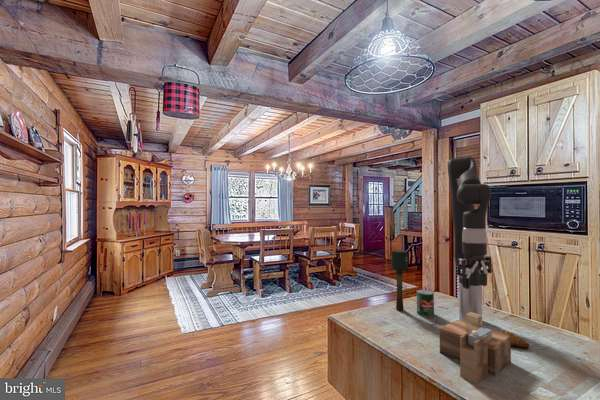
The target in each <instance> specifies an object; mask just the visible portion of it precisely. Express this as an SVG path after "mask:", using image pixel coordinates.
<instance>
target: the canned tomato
mask: <svg viewBox="0 0 600 400" xmlns="http://www.w3.org/2000/svg"><path fill="white" fill-rule="evenodd" d="M434 295H435V293H434V291H433V290H429V289H424V288H423V289H417V290H416V314H417V315H418V316H420V317H423V318H433V317H434V316H435V296H434Z"/></svg>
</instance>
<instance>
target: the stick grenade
mask: <svg viewBox="0 0 600 400" xmlns="http://www.w3.org/2000/svg"><path fill="white" fill-rule="evenodd" d="M390 257H391V260H390V262H391V263H390V264H391V265H390V269H391V270H394V271H395V275H396V276H395V279H396V301H395V310H396V311H399V312H402V311H403V310H405V309H404V300H403V282H404V271H408V270H409V266H408V251H407V250H405V249H393V250H391V251H390Z"/></svg>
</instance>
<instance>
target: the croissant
mask: <svg viewBox="0 0 600 400" xmlns="http://www.w3.org/2000/svg"><path fill="white" fill-rule="evenodd" d="M498 332H499V333H502V334H506V335H509V336H510V339H511V347H515V348H521V349H529V348H530V344H529V342H528V341H526V340H525V339H523V338H521V337H519V336H517V335H515V334H514V333H513V332H511V331H508V330H504V331H498Z"/></svg>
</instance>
